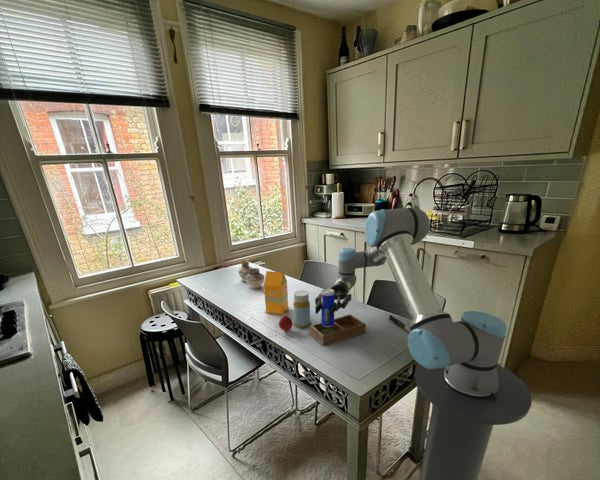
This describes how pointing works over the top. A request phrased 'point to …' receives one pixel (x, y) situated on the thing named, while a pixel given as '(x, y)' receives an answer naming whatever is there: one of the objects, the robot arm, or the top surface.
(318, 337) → the wooden divided tray
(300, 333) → the top surface
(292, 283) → the top surface
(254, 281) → the pottery
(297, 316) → the bottle
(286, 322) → the onion
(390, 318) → the kitchen knife
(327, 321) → the beverage can
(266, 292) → the orange juice
